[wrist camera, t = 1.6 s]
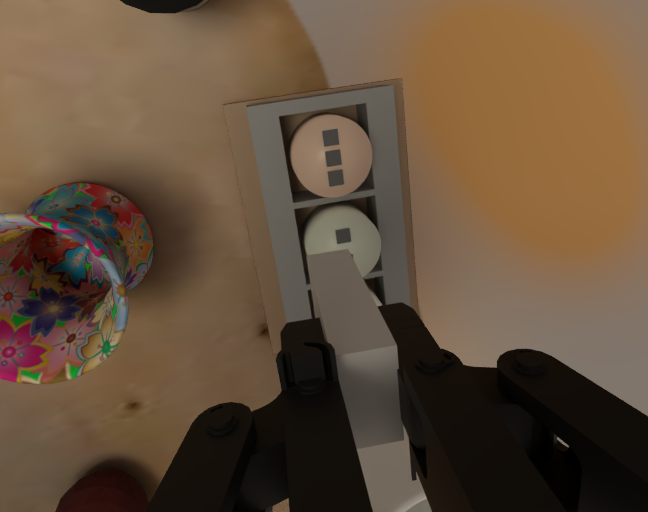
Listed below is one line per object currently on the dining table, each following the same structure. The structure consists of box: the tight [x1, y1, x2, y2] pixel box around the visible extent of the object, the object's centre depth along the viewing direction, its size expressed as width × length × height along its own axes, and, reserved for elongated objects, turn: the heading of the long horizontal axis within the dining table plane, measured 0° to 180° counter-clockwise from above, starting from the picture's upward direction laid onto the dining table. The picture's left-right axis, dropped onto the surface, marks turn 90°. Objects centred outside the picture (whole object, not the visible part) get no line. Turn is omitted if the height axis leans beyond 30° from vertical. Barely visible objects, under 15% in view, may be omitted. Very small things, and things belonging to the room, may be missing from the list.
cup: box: [357, 425, 432, 512], centre depth 33 cm, size 8×8×16 cm
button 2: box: [302, 201, 381, 277], centre depth 31 cm, size 5×5×3 cm
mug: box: [0, 183, 154, 384], centre depth 28 cm, size 12×9×11 cm
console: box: [223, 79, 419, 355], centre depth 33 cm, size 12×19×4 cm, turn 8°
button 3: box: [288, 113, 372, 198], centre depth 29 cm, size 5×5×3 cm
